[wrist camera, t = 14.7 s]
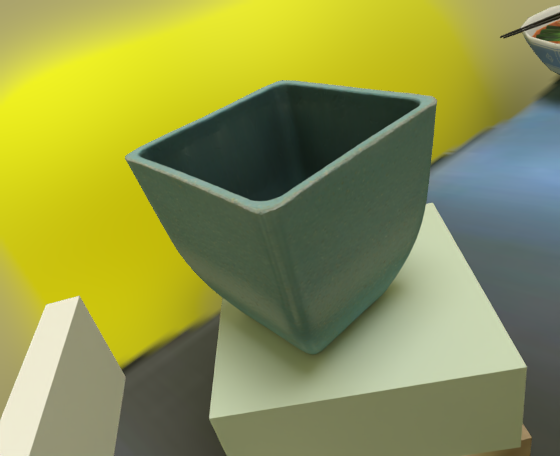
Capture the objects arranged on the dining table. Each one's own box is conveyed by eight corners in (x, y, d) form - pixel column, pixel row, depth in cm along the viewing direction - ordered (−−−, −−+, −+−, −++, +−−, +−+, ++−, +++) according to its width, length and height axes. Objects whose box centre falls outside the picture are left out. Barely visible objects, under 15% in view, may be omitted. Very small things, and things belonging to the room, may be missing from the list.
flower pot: (450, 283, 22) (443, 92, 18) (319, 417, 18) (264, 211, 13) (312, 230, 28) (279, 77, 24) (189, 321, 24) (118, 155, 19)
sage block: (436, 270, 31) (432, 202, 28) (520, 447, 21) (526, 367, 18) (249, 305, 32) (228, 243, 29) (242, 488, 22) (208, 418, 19)
